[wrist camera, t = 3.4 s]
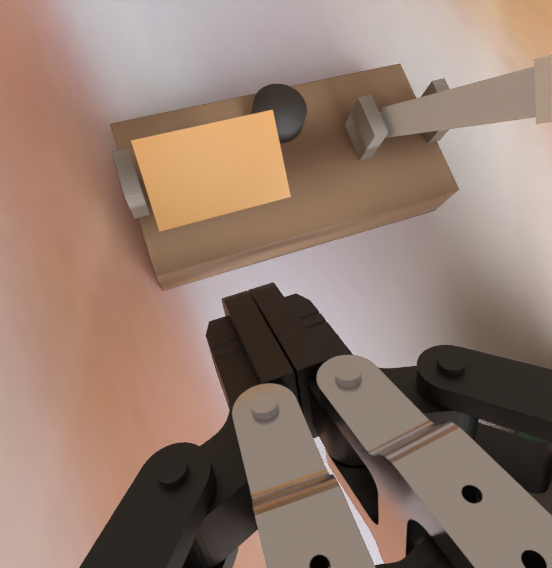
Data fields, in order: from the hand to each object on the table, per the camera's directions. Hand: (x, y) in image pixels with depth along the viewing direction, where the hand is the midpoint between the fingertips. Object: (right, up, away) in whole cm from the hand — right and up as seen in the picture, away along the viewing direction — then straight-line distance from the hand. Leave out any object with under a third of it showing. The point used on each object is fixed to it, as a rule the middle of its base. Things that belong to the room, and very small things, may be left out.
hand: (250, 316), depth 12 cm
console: (+1, +7, +15) cm, 17 cm away
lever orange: (-4, +7, +9) cm, 12 cm away
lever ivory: (+8, +10, +12) cm, 18 cm away
